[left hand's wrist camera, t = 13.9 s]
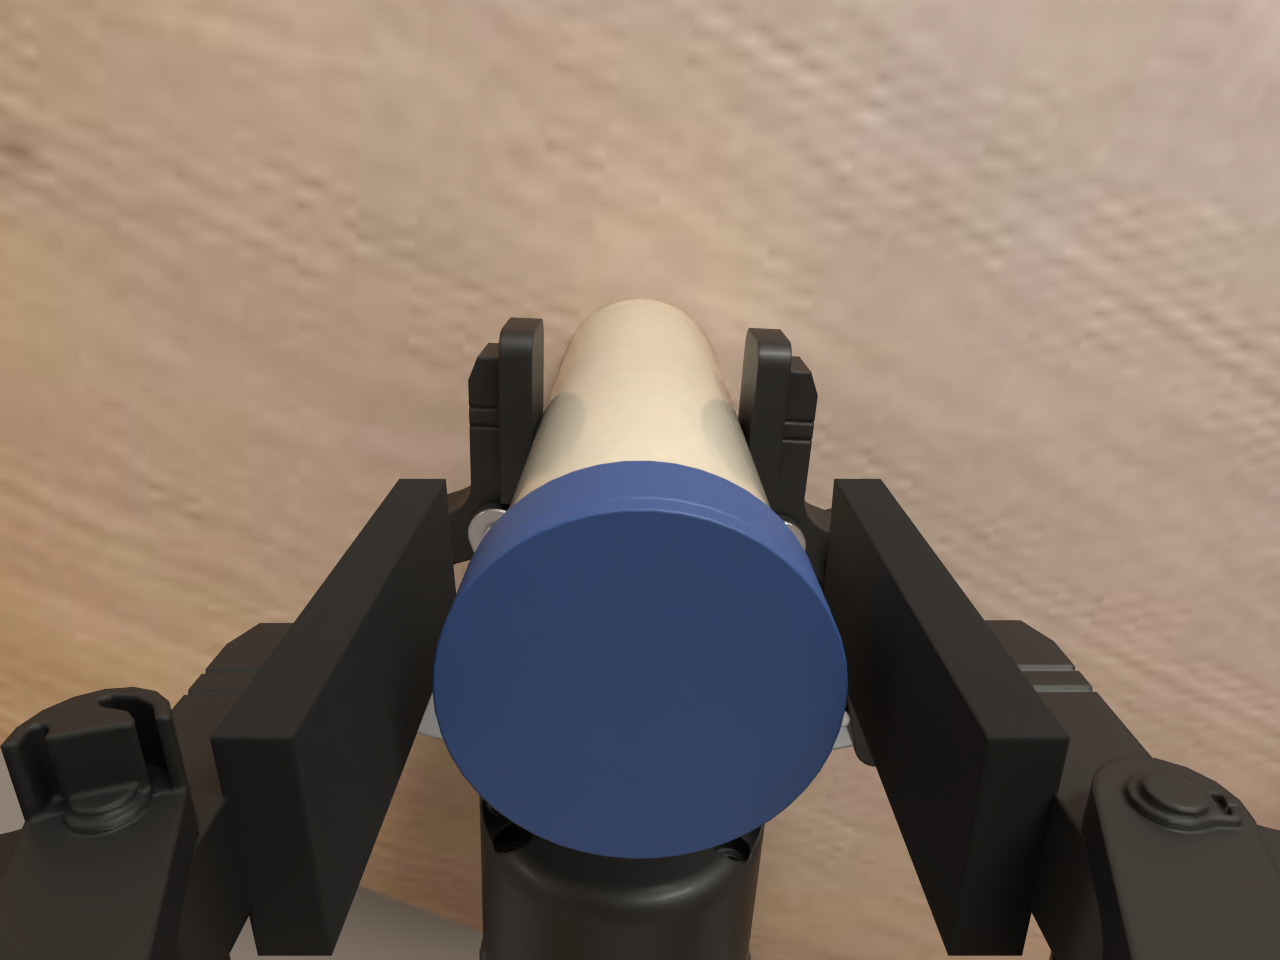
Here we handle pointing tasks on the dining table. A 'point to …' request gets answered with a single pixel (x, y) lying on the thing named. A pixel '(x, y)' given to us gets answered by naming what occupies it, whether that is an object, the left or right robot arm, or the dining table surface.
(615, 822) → the lid
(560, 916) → the right robot arm
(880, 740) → the left robot arm
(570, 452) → the cream bottle
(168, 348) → the dining table surface
